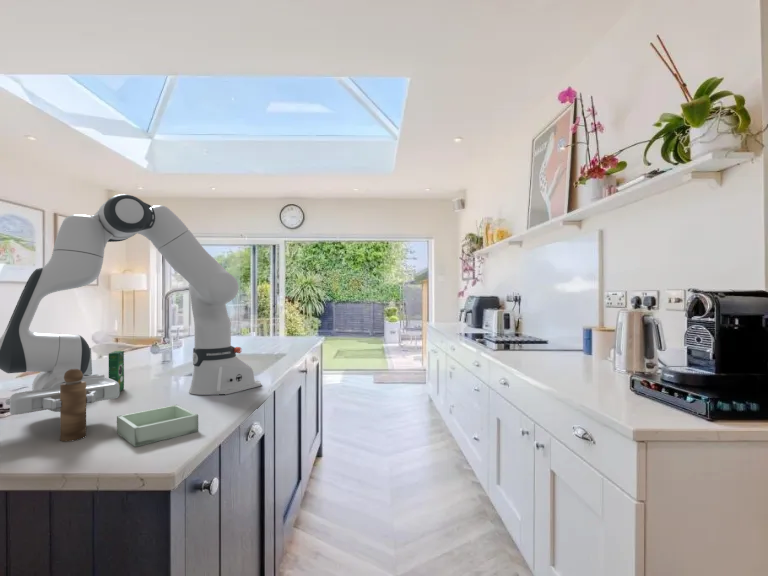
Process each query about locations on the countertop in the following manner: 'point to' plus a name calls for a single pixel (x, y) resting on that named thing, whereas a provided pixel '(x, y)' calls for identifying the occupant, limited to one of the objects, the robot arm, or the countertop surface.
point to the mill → (73, 406)
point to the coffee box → (117, 367)
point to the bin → (156, 424)
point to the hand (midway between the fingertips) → (74, 402)
